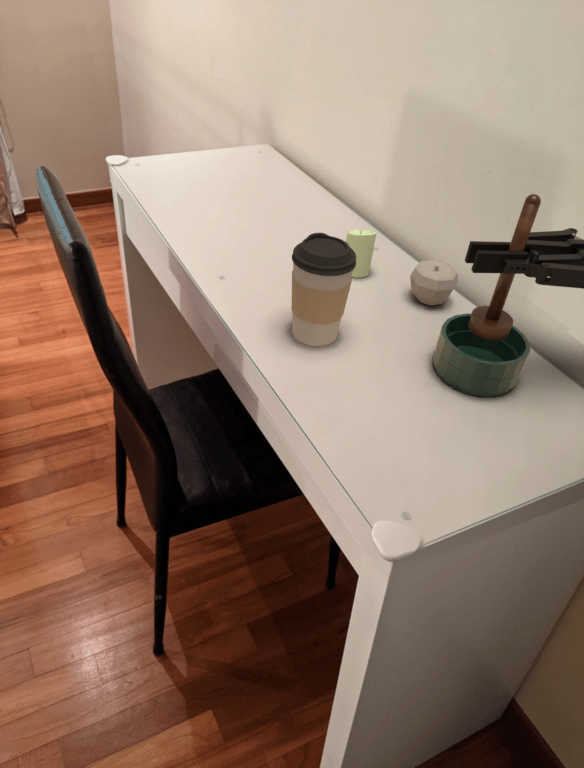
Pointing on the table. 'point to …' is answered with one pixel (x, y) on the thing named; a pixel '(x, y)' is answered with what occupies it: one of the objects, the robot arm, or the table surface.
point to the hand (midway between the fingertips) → (472, 257)
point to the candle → (361, 250)
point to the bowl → (479, 359)
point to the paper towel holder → (504, 282)
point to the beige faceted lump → (433, 281)
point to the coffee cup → (320, 287)
